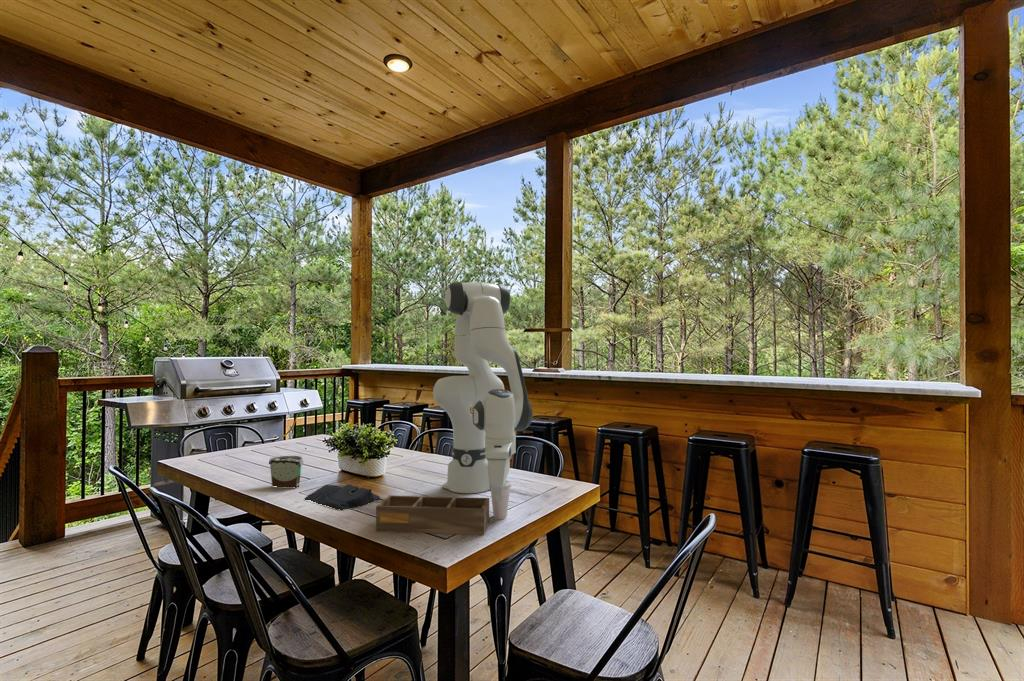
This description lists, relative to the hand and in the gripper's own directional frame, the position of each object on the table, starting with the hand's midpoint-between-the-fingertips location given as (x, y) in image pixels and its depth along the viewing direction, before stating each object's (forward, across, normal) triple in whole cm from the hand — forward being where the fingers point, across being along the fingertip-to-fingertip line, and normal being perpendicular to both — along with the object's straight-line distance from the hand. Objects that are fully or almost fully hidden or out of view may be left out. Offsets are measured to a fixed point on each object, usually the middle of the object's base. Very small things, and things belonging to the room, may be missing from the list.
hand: (500, 495), depth 142 cm
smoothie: (+6, 0, 0) cm, 6 cm away
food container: (+6, -27, -78) cm, 83 cm away
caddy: (+6, +9, -17) cm, 20 cm away
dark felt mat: (+7, -13, -52) cm, 54 cm away
